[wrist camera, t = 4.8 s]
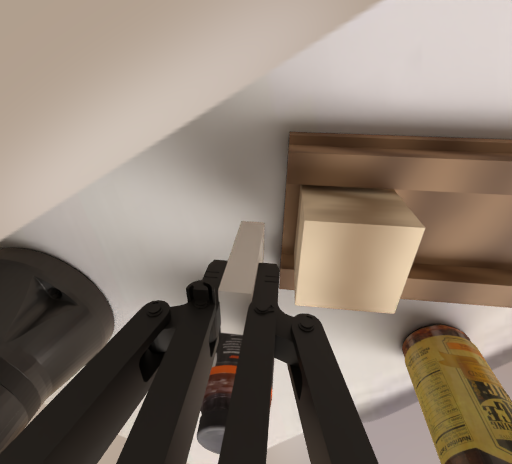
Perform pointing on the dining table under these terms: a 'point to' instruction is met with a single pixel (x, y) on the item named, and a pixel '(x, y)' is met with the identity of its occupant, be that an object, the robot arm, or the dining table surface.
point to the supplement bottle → (219, 392)
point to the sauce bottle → (459, 397)
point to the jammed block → (353, 248)
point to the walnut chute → (421, 205)
